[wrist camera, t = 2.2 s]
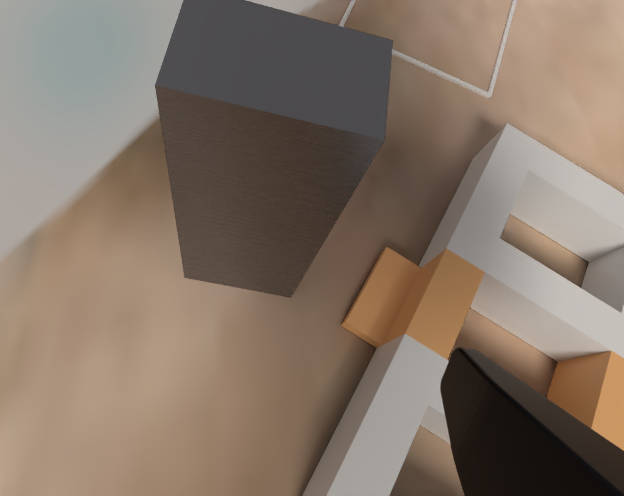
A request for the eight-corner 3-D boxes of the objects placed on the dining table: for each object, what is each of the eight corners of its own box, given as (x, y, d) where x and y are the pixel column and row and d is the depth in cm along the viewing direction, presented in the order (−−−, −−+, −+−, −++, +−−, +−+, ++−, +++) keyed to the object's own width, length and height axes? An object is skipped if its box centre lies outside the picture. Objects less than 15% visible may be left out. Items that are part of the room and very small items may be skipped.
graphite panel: (290, 297, 22) (384, 140, 10) (184, 277, 22) (154, 85, 10) (299, 240, 23) (393, 40, 12) (199, 219, 23) (188, -15, 11)
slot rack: (511, 677, 18) (574, 728, 15) (241, 504, 19) (248, 518, 15) (627, 253, 27) (682, 229, 24) (443, 141, 28) (474, 102, 24)
